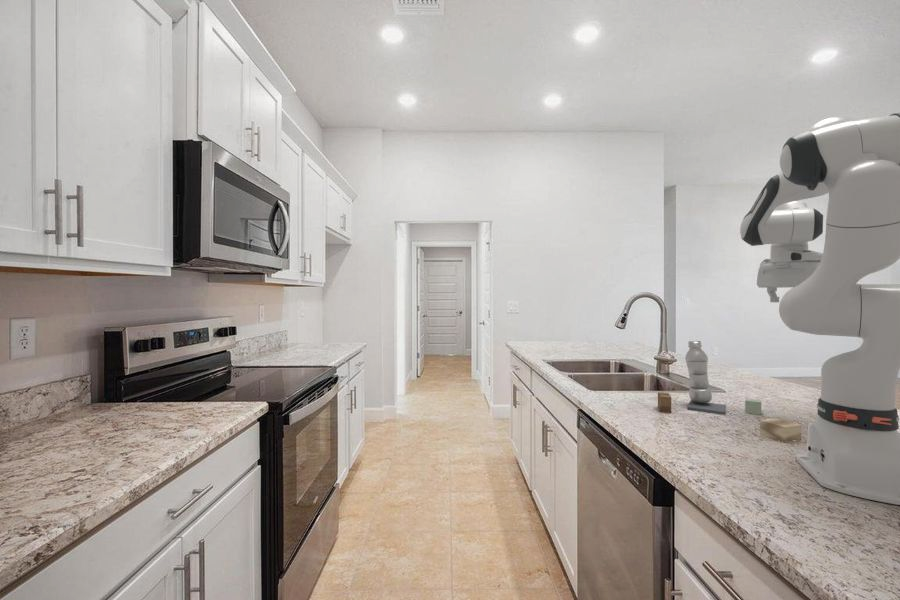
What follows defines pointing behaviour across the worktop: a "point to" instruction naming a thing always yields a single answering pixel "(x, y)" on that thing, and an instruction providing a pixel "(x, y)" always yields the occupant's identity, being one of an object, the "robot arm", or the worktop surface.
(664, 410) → the walnut brick
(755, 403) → the sage brick
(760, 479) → the worktop surface
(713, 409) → the mat
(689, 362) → the plastic bottle
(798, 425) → the beech brick
